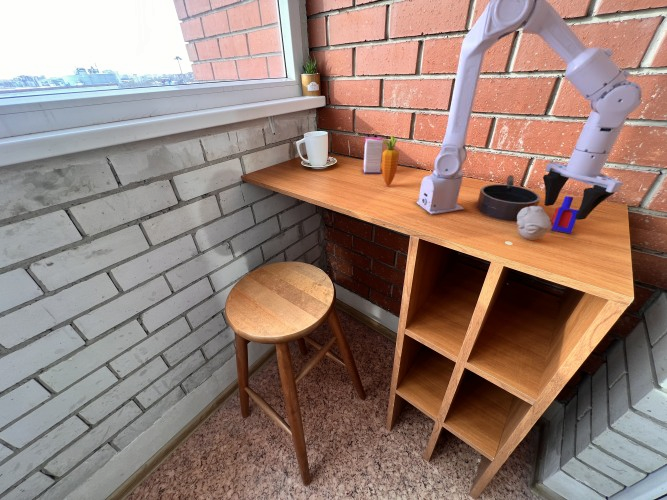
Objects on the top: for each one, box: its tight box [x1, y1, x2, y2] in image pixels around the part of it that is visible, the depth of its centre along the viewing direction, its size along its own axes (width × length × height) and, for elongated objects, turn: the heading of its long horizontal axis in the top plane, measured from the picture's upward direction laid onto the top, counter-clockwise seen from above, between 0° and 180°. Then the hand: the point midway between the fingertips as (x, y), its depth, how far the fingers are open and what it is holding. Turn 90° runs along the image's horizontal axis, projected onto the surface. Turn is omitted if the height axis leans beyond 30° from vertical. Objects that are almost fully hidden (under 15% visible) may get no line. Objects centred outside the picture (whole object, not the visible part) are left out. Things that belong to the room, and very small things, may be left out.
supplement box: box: [363, 136, 384, 175], centre depth 101 cm, size 6×6×12 cm
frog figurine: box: [516, 205, 552, 241], centre depth 60 cm, size 6×7×7 cm
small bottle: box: [550, 195, 579, 234], centre depth 64 cm, size 4×4×8 cm
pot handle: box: [506, 174, 515, 190], centre depth 80 cm, size 11×2×2 cm, turn 151°
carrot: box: [381, 135, 400, 187], centre depth 87 cm, size 5×5×15 cm
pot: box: [476, 183, 541, 222], centre depth 73 cm, size 13×13×5 cm
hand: (563, 211), depth 64 cm, fingers open, 7 cm apart
